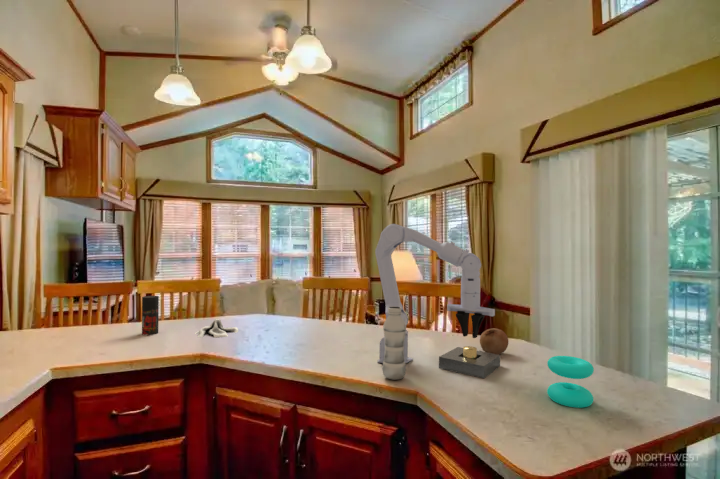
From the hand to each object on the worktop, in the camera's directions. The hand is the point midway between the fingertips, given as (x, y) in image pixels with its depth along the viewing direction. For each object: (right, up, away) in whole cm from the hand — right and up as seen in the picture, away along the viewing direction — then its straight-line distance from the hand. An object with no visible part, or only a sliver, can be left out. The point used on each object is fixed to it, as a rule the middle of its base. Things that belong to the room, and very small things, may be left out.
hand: (470, 336), depth 120 cm
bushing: (0, -9, 0) cm, 9 cm away
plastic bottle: (-24, -9, -10) cm, 28 cm away
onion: (+12, -10, +14) cm, 21 cm away
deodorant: (-120, -9, +39) cm, 127 cm away
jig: (0, -9, 0) cm, 9 cm away
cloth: (-95, -10, +41) cm, 104 cm away
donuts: (+17, -10, -25) cm, 32 cm away
